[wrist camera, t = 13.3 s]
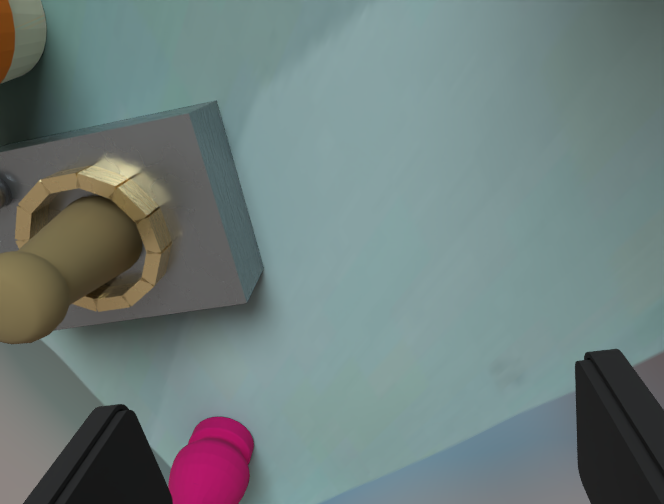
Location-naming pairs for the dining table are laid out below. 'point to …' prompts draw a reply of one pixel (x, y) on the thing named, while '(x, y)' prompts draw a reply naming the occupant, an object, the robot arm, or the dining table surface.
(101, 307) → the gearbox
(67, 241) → the cork
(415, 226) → the dining table surface
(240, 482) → the pepper mill
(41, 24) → the reusable coffee cup
